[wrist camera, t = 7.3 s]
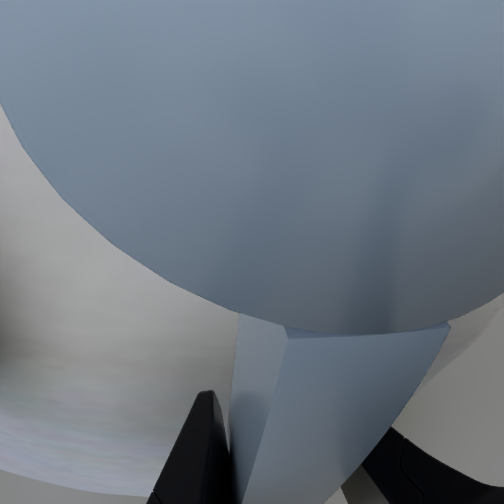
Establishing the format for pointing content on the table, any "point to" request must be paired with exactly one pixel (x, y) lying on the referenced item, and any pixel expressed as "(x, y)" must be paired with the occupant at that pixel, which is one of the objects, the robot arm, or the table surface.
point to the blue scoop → (283, 190)
